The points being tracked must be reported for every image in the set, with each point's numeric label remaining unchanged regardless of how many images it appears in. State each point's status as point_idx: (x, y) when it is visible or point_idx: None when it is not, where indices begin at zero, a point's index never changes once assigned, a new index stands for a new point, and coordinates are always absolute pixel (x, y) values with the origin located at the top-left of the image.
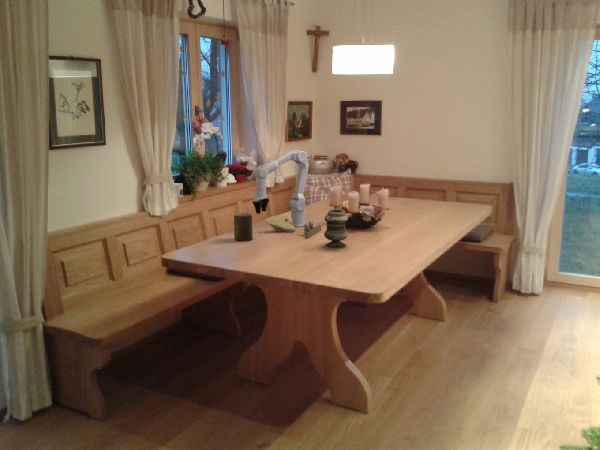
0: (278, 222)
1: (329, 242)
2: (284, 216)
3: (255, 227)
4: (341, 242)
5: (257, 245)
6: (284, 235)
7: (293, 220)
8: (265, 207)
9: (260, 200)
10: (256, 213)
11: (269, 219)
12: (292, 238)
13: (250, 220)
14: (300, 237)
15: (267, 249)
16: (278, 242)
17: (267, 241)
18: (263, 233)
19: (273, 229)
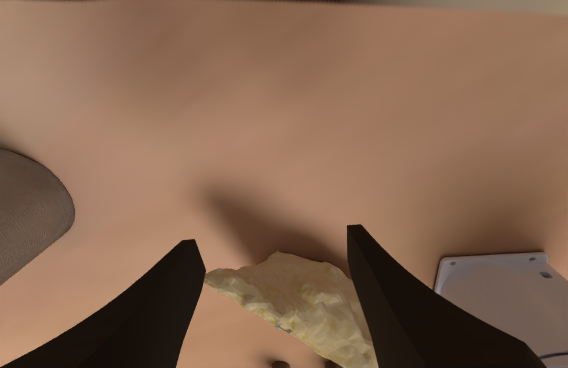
0: (268, 321)
1: None
2: (335, 362)
3: (337, 79)
4: None
5: (12, 295)
6: (230, 311)
7: (460, 307)
8: (362, 302)
9: (413, 359)
10: (180, 242)
11: (236, 299)
12: (203, 348)
13: None
14: (235, 362)
15: (10, 340)
16: None
17: (93, 299)
18: (206, 219)
19: (268, 257)
